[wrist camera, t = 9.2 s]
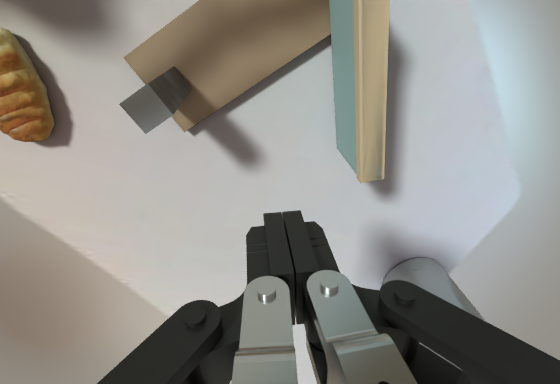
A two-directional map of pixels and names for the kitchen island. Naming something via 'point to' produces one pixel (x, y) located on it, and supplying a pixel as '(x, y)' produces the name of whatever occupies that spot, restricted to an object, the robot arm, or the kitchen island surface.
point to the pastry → (22, 94)
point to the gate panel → (360, 82)
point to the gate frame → (218, 55)
